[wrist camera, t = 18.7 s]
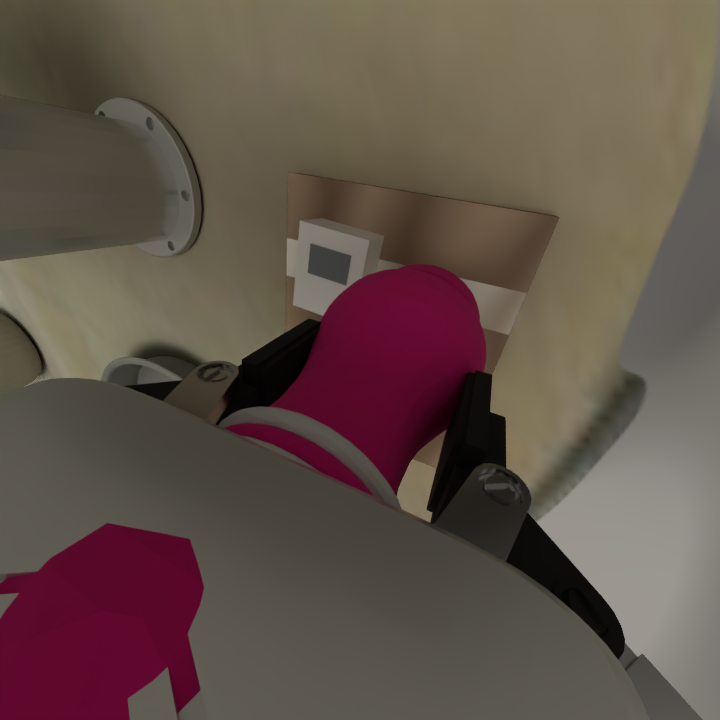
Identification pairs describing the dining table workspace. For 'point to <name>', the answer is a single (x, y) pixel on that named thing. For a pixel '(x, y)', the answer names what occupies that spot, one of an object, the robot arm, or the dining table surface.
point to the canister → (16, 357)
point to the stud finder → (331, 261)
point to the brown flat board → (430, 248)
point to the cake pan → (146, 370)
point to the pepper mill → (276, 432)
